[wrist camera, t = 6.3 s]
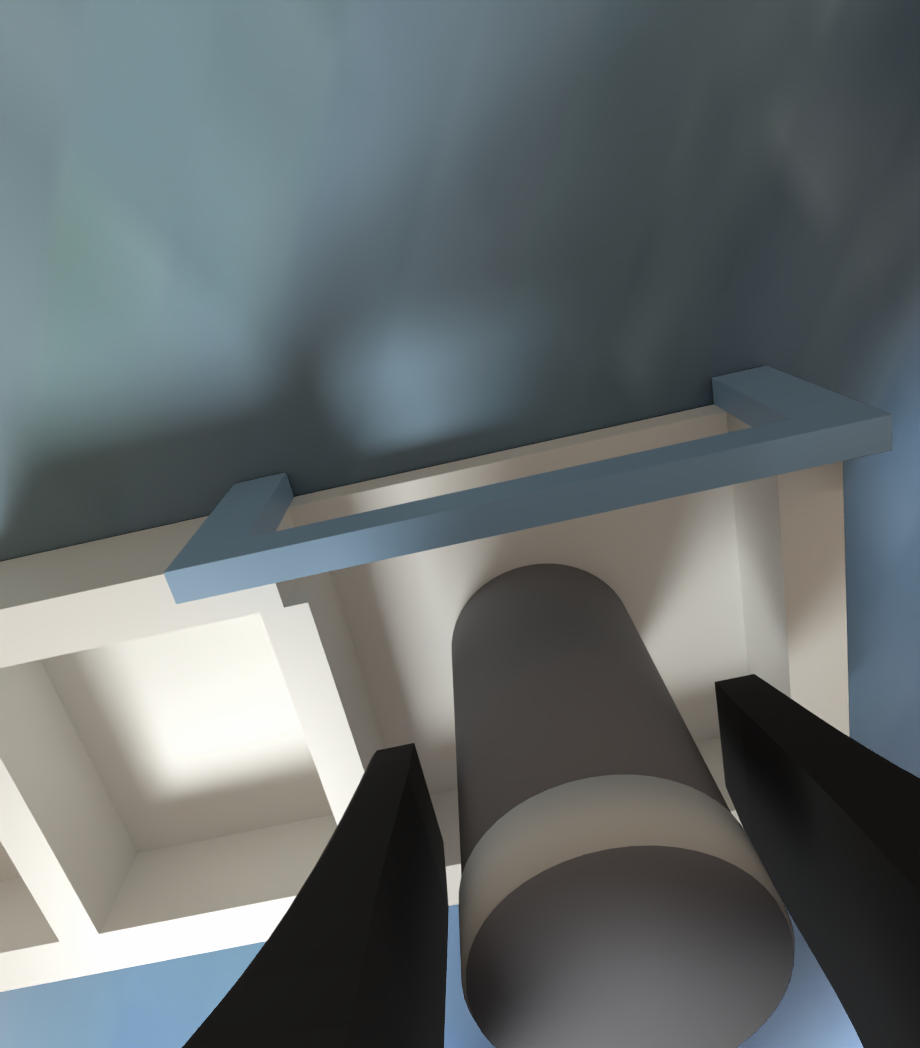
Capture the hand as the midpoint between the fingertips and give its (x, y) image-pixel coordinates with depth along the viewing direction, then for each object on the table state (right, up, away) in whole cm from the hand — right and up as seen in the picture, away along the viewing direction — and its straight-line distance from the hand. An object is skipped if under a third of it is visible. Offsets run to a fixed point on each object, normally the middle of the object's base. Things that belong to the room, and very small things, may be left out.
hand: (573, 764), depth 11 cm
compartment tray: (-7, 0, +4) cm, 8 cm away
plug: (0, +1, +3) cm, 3 cm away
